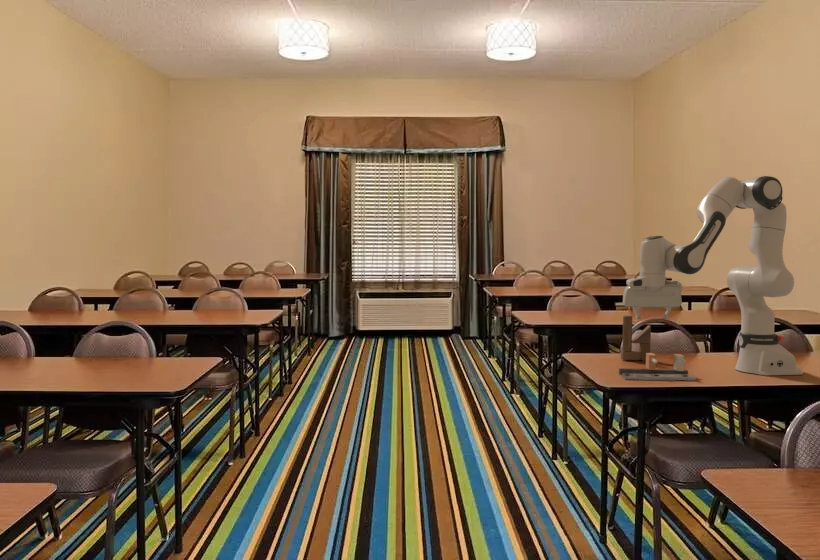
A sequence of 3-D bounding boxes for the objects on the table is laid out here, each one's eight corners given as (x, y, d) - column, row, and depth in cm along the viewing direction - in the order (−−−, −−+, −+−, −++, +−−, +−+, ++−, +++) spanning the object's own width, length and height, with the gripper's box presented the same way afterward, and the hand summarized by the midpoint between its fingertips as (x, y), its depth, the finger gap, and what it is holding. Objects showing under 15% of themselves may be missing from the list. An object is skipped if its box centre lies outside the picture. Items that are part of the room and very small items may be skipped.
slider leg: (652, 367, 258) (652, 352, 258) (659, 372, 248) (659, 357, 248) (645, 367, 259) (646, 352, 258) (652, 372, 249) (652, 357, 248)
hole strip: (691, 377, 250) (691, 374, 250) (695, 380, 245) (695, 377, 245) (621, 376, 252) (621, 372, 252) (624, 379, 247) (624, 375, 247)
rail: (685, 373, 257) (685, 354, 257) (693, 379, 248) (694, 359, 247) (618, 372, 260) (618, 353, 259) (623, 378, 250) (624, 358, 249)
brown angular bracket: (650, 361, 282) (651, 316, 280) (622, 360, 283) (623, 316, 282) (648, 359, 285) (649, 315, 284) (620, 359, 286) (621, 315, 285)
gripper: (679, 280, 256) (678, 317, 257) (621, 280, 258) (621, 317, 259) (684, 281, 250) (683, 320, 251) (625, 281, 252) (625, 320, 253)
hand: (651, 319), depth 255 cm, fingers open, 8 cm apart
